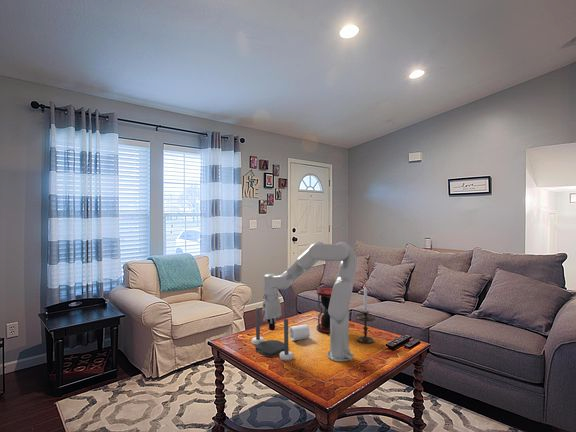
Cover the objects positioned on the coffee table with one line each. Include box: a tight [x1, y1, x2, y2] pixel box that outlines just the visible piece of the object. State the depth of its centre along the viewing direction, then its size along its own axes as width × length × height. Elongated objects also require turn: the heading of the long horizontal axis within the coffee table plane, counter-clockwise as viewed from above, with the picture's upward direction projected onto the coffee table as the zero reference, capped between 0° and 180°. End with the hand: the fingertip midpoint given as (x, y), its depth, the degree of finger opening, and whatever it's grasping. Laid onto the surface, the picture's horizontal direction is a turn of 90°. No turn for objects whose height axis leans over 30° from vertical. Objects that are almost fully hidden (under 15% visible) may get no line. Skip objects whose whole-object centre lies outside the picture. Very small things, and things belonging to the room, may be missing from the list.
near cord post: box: [279, 318, 294, 362], centre depth 177 cm, size 7×7×20 cm
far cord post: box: [251, 307, 265, 346], centre depth 197 cm, size 7×7×20 cm
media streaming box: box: [255, 339, 284, 358], centre depth 187 cm, size 15×15×3 cm
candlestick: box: [355, 281, 376, 345], centre depth 198 cm, size 11×11×35 cm
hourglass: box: [316, 287, 333, 335], centre depth 216 cm, size 16×16×25 cm
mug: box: [288, 323, 311, 342], centre depth 203 cm, size 12×10×8 cm
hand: (272, 329), depth 187 cm, fingers closed
